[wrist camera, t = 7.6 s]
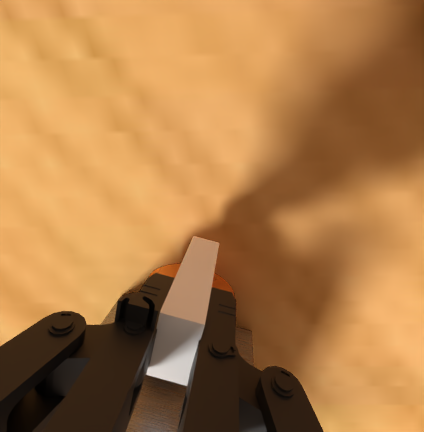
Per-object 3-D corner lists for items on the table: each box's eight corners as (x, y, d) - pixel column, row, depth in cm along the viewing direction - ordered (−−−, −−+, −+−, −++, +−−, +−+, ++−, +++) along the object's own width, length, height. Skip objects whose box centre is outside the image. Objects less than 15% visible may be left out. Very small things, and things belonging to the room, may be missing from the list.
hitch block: (121, 295, 19) (-6, 472, 9) (251, 331, 19) (265, 550, 9) (107, 382, 21) (-2, 591, 12) (220, 414, 21) (205, 652, 12)
